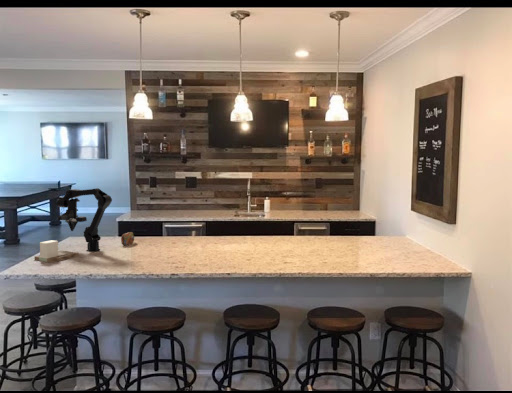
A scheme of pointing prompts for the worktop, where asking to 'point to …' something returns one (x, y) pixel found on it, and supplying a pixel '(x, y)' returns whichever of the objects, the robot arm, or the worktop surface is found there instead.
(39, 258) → the pad
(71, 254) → the trap board
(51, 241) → the cream block
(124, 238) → the tin
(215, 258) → the worktop surface
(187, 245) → the worktop surface
